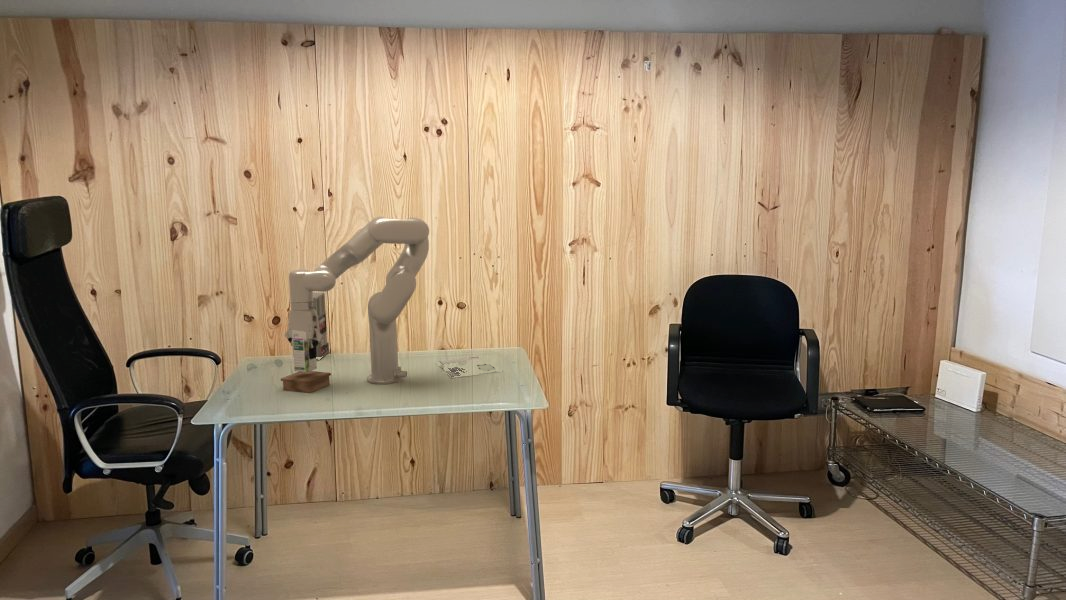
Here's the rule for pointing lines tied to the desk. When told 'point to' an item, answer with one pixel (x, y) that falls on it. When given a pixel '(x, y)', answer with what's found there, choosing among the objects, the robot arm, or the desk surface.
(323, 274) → the robot arm
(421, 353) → the desk surface
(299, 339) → the syrup box
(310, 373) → the walnut stand
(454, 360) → the office telephone
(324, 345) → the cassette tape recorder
